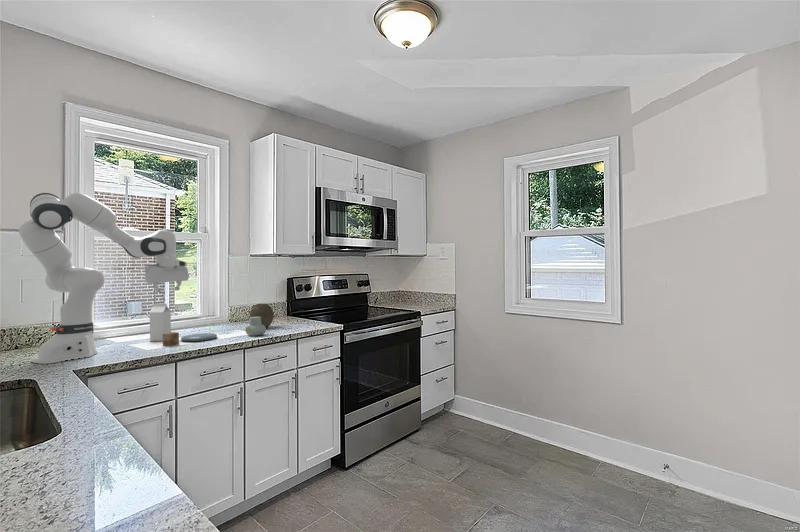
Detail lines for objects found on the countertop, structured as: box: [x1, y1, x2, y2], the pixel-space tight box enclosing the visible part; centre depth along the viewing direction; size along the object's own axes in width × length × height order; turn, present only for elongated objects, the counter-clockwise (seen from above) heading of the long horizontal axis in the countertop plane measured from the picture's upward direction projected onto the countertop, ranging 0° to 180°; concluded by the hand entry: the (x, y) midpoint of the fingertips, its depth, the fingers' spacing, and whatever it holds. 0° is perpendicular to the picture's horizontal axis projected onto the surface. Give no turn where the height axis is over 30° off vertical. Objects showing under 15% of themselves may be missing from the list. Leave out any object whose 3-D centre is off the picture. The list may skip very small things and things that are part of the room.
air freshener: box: [245, 316, 267, 337], centre depth 232 cm, size 11×8×10 cm
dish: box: [180, 332, 217, 342], centre depth 223 cm, size 17×17×2 cm
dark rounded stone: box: [249, 303, 275, 329], centre depth 257 cm, size 14×14×15 cm
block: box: [162, 331, 180, 347], centre depth 209 cm, size 5×5×6 cm
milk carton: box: [148, 303, 172, 342], centre depth 223 cm, size 7×7×19 cm
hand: (167, 291), depth 209 cm, fingers open, 8 cm apart
